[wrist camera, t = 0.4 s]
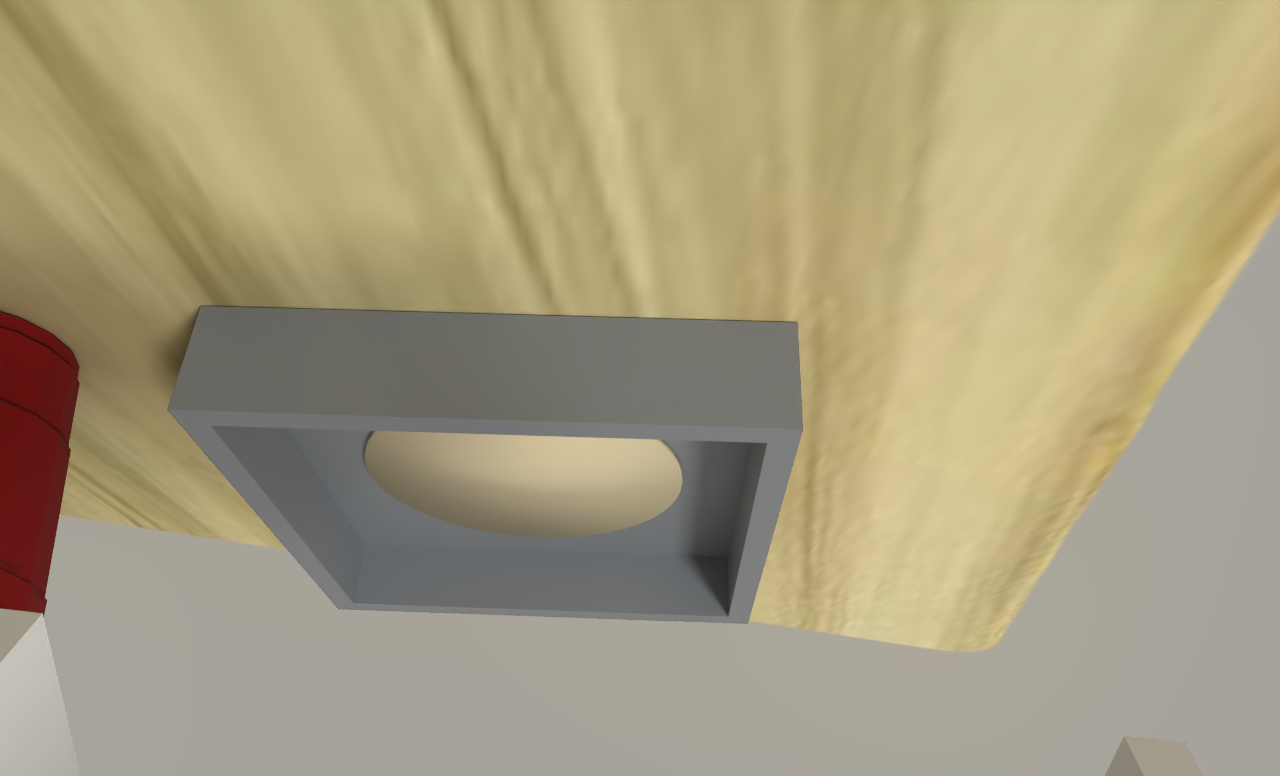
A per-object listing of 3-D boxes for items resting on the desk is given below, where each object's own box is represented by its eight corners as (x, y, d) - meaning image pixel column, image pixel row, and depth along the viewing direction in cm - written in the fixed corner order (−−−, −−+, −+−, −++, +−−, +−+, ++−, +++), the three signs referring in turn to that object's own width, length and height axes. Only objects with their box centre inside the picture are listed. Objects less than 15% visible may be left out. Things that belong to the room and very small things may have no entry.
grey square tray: (200, 305, 33) (167, 409, 31) (797, 322, 33) (802, 429, 31) (353, 532, 51) (338, 609, 49) (746, 546, 50) (747, 623, 48)
